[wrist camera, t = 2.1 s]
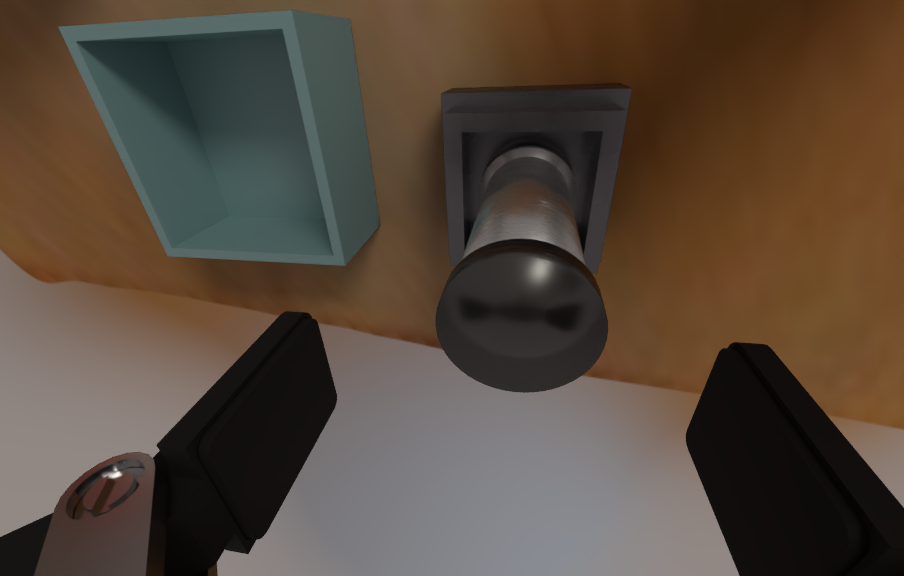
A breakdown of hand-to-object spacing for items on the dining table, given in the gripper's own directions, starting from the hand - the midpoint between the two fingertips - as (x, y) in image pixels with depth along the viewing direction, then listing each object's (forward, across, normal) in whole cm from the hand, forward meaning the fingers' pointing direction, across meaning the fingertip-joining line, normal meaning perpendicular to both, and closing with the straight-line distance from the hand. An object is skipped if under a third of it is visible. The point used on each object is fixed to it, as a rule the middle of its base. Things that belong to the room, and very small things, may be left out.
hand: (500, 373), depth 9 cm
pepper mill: (+14, -1, -1) cm, 14 cm away
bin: (+17, +15, -3) cm, 23 cm away
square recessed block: (+17, -1, -1) cm, 17 cm away
